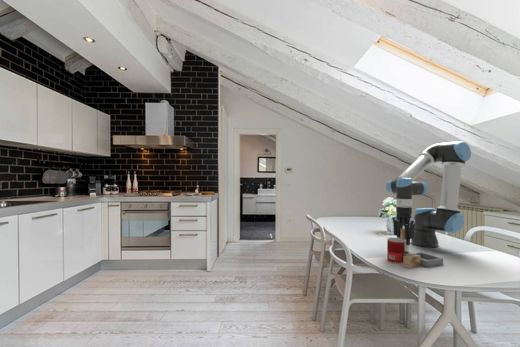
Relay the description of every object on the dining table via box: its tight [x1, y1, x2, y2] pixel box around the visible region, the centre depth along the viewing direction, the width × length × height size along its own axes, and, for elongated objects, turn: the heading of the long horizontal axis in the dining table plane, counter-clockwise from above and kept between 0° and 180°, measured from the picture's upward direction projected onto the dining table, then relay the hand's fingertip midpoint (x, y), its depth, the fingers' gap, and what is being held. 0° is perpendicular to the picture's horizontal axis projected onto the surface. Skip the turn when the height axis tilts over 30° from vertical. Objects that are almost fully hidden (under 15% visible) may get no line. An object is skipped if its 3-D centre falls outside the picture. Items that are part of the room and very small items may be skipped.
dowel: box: [400, 227, 407, 253], centre depth 152 cm, size 3×3×15 cm
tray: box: [405, 251, 444, 268], centre depth 142 cm, size 12×12×3 cm
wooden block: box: [402, 254, 421, 269], centre depth 136 cm, size 8×3×5 cm, turn 114°
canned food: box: [386, 237, 405, 264], centre depth 145 cm, size 8×8×11 cm
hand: (403, 249), depth 152 cm, fingers closed on dowel, 3 cm apart
